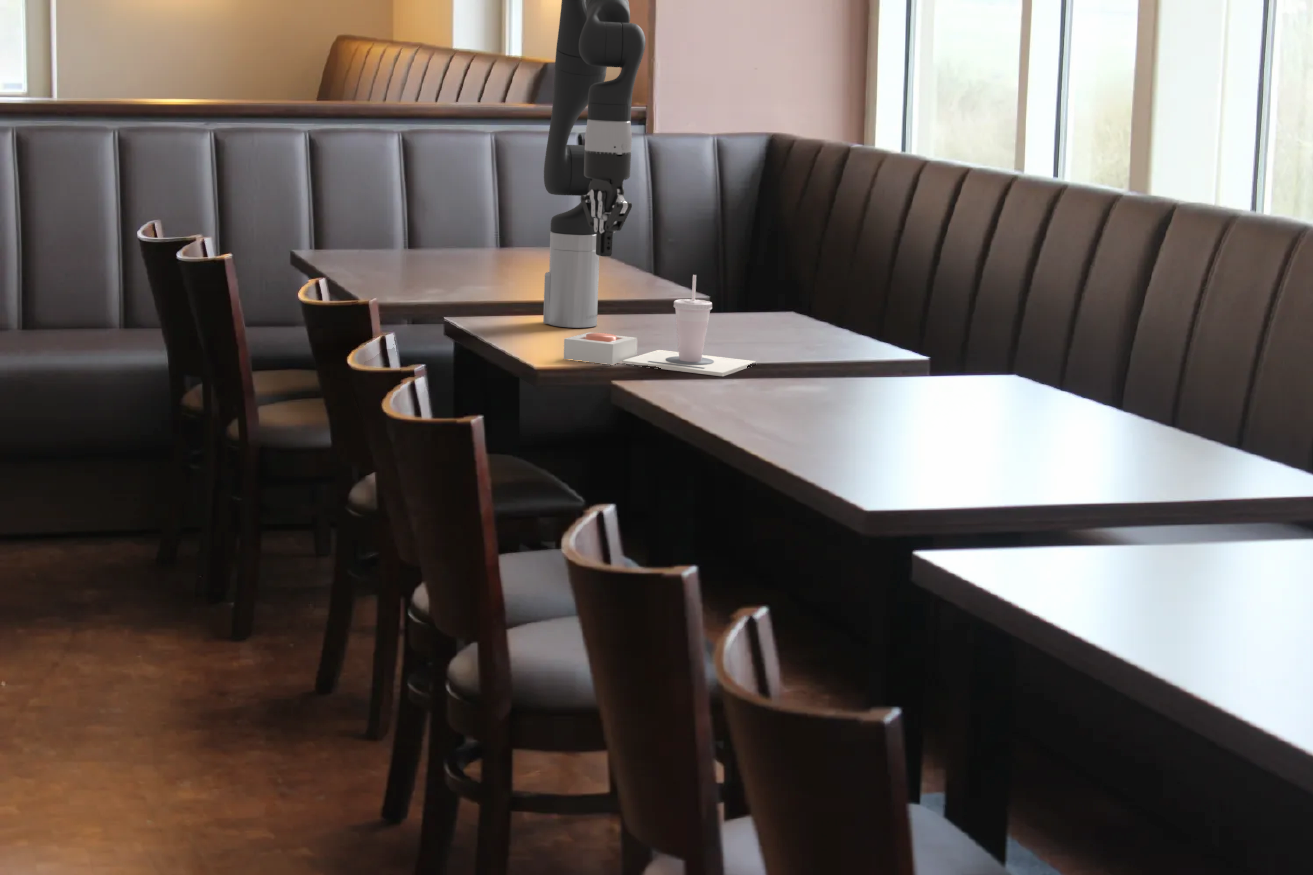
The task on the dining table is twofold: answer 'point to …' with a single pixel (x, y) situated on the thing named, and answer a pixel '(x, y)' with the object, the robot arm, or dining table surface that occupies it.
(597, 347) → the button housing
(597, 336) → the button
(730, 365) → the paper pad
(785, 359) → the dining table surface
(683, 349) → the smoothie
